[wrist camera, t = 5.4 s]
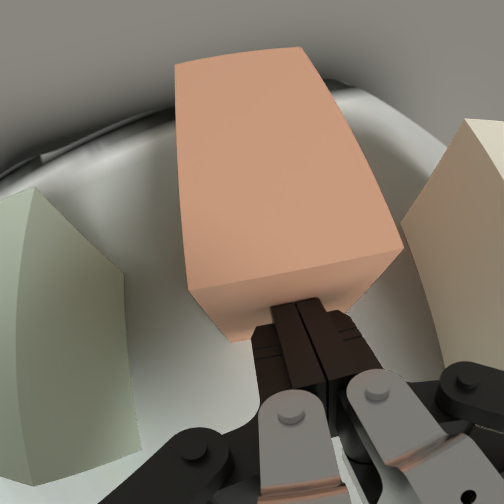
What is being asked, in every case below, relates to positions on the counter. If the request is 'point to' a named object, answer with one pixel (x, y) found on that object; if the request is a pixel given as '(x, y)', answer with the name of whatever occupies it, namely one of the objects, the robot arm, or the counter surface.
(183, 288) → the counter surface
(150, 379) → the counter surface
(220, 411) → the counter surface
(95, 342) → the block sage
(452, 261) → the block cream
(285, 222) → the block terracotta
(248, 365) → the counter surface
